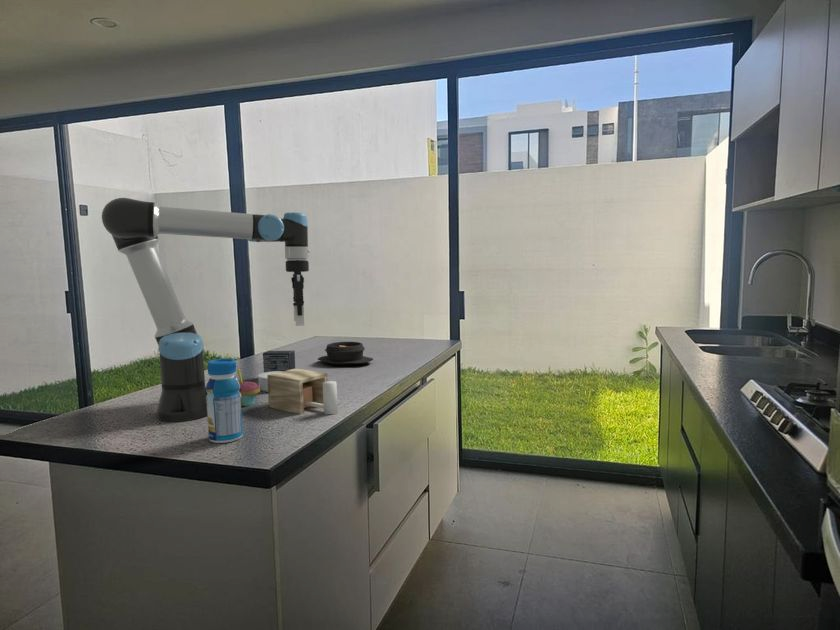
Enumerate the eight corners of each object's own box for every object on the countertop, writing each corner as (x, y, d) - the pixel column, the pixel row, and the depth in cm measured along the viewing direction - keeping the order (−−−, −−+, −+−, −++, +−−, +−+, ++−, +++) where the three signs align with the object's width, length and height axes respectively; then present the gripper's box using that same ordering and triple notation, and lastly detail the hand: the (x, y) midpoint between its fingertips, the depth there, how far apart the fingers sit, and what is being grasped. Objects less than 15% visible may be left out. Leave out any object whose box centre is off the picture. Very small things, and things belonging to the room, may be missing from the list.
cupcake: (231, 408, 166) (229, 370, 165) (232, 401, 174) (230, 364, 173) (260, 406, 168) (258, 368, 167) (260, 399, 177) (259, 362, 175)
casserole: (381, 361, 237) (381, 342, 236) (357, 369, 221) (357, 349, 220) (334, 357, 248) (333, 339, 248) (308, 365, 232) (307, 345, 231)
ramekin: (279, 394, 183) (278, 378, 183) (251, 391, 187) (250, 376, 187) (297, 386, 194) (296, 371, 193) (270, 384, 198) (269, 370, 197)
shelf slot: (300, 414, 159) (299, 380, 158) (268, 407, 167) (267, 375, 166) (328, 405, 169) (327, 373, 167) (296, 398, 177) (295, 368, 175)
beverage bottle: (230, 445, 133) (226, 364, 131) (200, 442, 136) (196, 363, 134) (250, 434, 142) (246, 358, 139) (221, 432, 144) (217, 357, 142)
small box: (296, 377, 209) (295, 349, 208) (291, 380, 203) (289, 352, 202) (269, 376, 210) (268, 349, 209) (263, 380, 204) (262, 352, 203)
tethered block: (328, 416, 157) (327, 385, 156) (284, 407, 167) (283, 378, 166) (342, 411, 162) (341, 381, 161) (299, 402, 172) (298, 374, 171)
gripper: (310, 259, 171) (312, 327, 173) (306, 259, 195) (308, 318, 197) (286, 260, 169) (288, 328, 171) (284, 259, 193) (286, 319, 195)
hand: (299, 323), depth 184 cm, fingers open, 13 cm apart
